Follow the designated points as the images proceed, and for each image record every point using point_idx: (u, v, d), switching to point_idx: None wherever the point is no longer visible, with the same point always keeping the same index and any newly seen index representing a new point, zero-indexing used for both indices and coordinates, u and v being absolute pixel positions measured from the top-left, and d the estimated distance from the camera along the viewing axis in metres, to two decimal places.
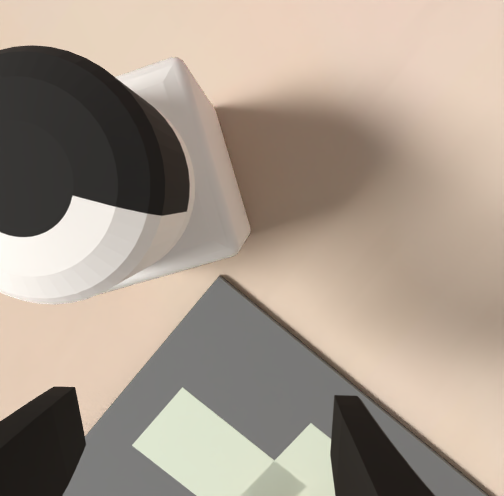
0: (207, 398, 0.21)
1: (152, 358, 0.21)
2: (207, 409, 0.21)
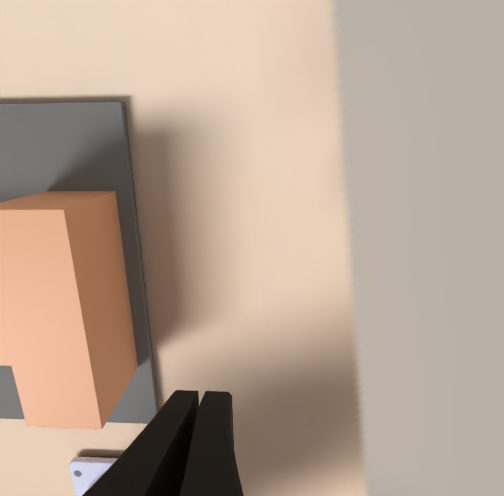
0: None
1: None
2: None
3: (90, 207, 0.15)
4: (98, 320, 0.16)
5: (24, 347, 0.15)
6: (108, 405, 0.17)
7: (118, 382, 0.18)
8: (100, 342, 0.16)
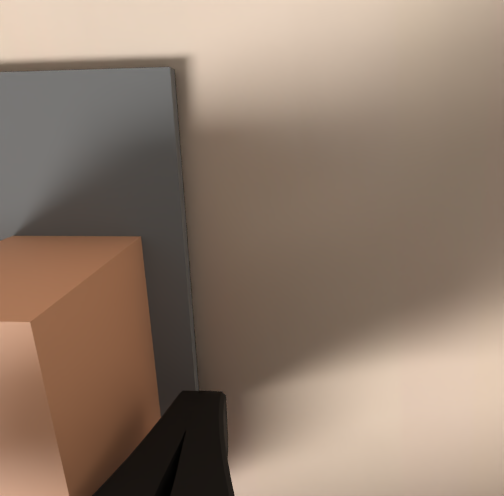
0: None
1: None
2: None
3: (95, 287, 0.07)
4: None
5: None
6: None
7: None
8: None
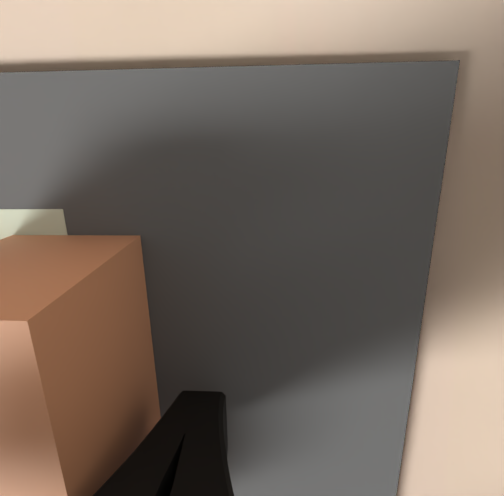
0: None
1: None
2: None
3: (94, 286, 0.07)
4: None
5: None
6: None
7: None
8: None
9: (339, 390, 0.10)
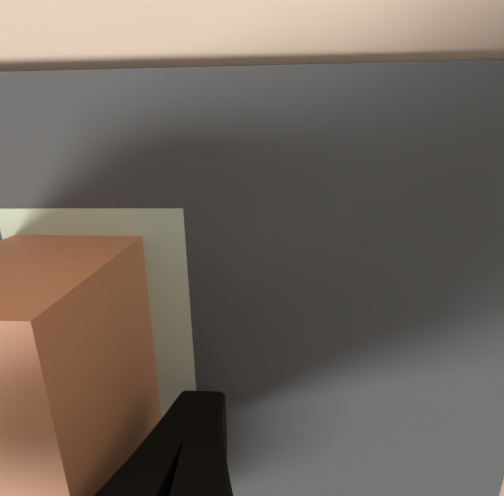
0: None
1: None
2: None
3: (96, 286, 0.07)
4: None
5: None
6: None
7: None
8: None
9: (450, 393, 0.10)
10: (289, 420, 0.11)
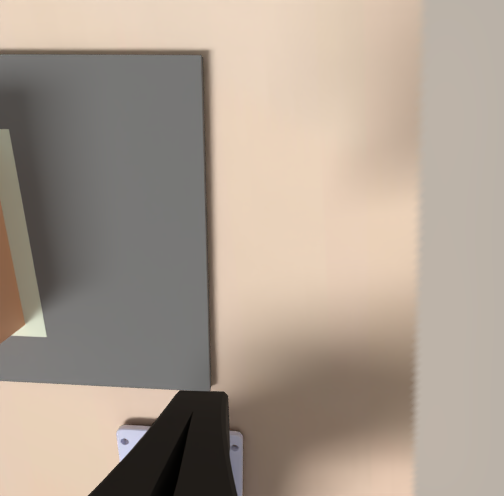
0: None
1: None
2: None
3: None
4: None
5: None
6: None
7: None
8: None
9: (166, 241, 0.19)
10: (83, 259, 0.19)
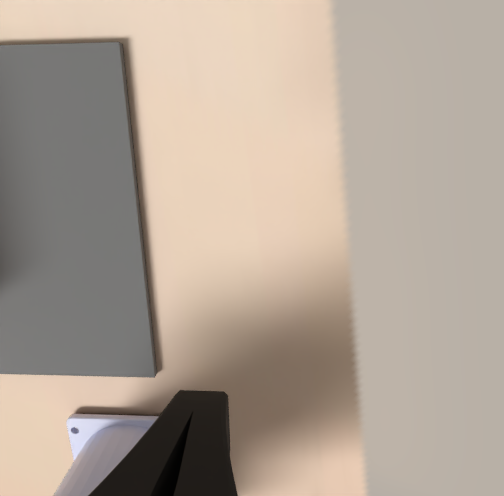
0: None
1: None
2: None
3: None
4: None
5: None
6: None
7: None
8: None
9: (100, 227, 0.19)
10: (21, 247, 0.19)
